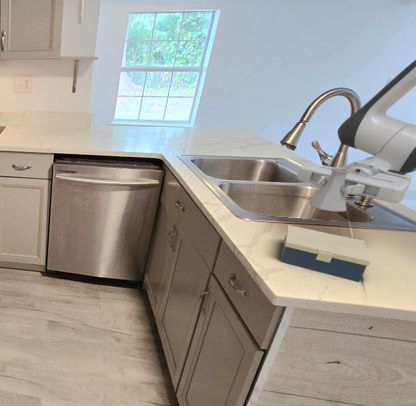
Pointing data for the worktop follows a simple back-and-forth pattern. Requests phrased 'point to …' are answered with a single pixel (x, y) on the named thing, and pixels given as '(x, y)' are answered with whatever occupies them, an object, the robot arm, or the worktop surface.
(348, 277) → the lunchbox
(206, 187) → the worktop surface
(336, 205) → the flask
